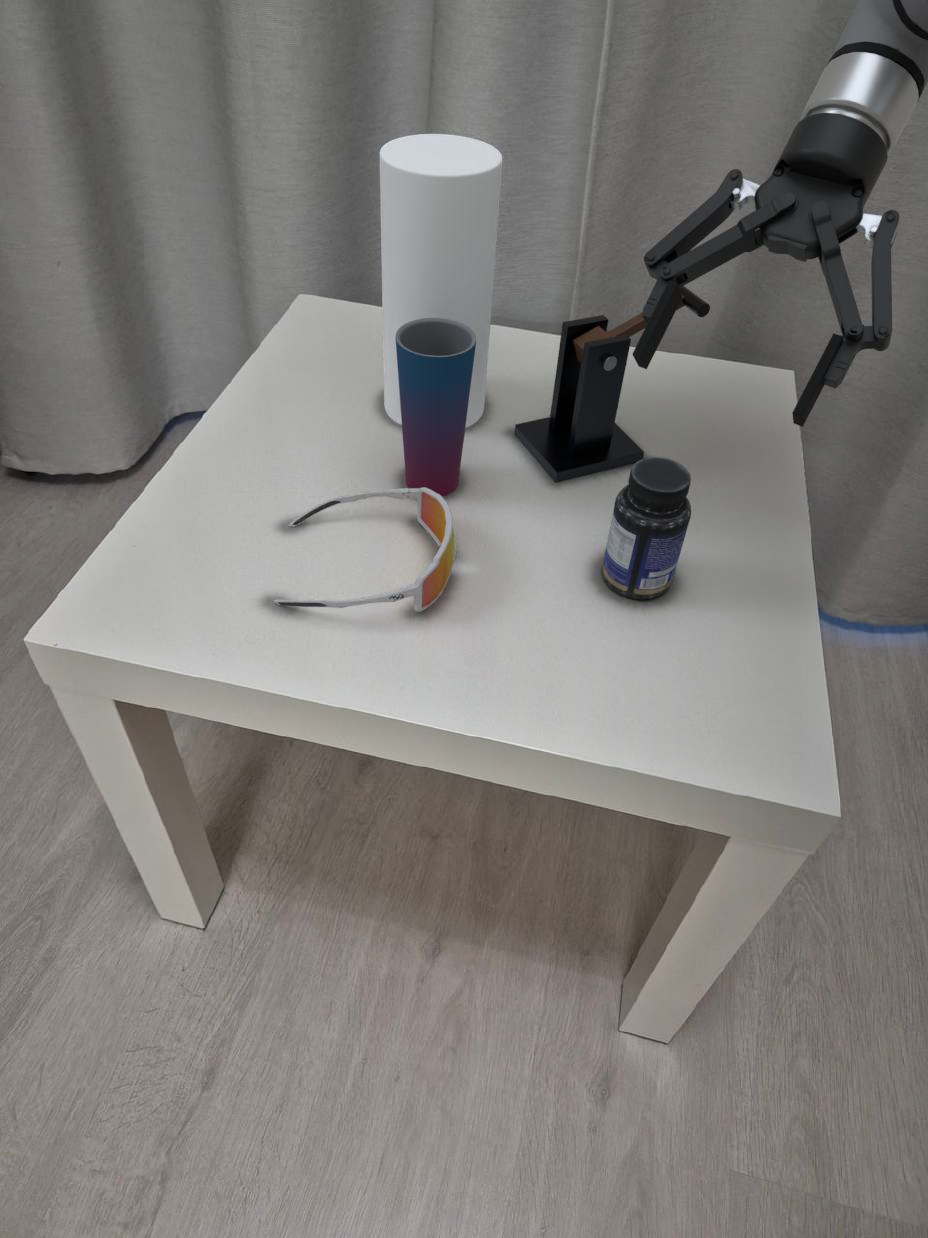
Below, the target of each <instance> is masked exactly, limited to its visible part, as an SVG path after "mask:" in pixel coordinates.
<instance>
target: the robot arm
mask: <svg viewBox="0 0 928 1238" xmlns="http://www.w3.org/2000/svg"><path fill="white" fill-rule="evenodd" d="M927 84H928V0H858V1H857V3H856V6H855V7H854V9H853V11H852V13H851V15H850V17H849V20H848V21H847V24H846V25H845V27H844V30H843V31H842V34H841V36H840V38H839V39H838V42H837V44H836V46H835V48H834V49H833V52H832V54H831V56H830V58H829V59H828V62H827V64H826V65H825V67H824V69H823V71H822V73H821V75H820V77H819V79H818V81H817V82H816V84H815V86H814V89H813V91H812V93H811V94H810V97H809V99H808V101H807V103H806V104H805V106H804V108H803V110H802V111H801V114H800V118H799V119H800V120H799V122H797V123H796V125H795V126H794V129H792V132H791V135H790V137H789V138H788V140H787V141H786V144H785V146H784V148H783V150H782V151H781V154H780V155H779V158H778V160H777V162H776V164H775V166H774V168H773V171H772V173H771V174H770V176H769V177H768V179H766V180H765V181H764V182H763V183H762V184H759V183H757V182H753V181H751V180H748V179H746V178H744V176H743V172H742V170H740V169H739V168H733V169H731V170H730V171H729V172H728V173H727V174H726V176H725V177H724V179H723V180H722V182H721V183H720V185H719V186H718V188H717V190H716V191H715V192H714V193H713V194H712V195H711V196H710V197H709V198H708V199H707V200H705V201H704V202H703V203H702V204H701V205H699V206H698V207H697V208H696V209H694V211H693V212H692V213H690V214H689V215H688V216H687V217H686V218H685V219H684V220H683V221H681V222H680V223H679V224H678V225H677V226H675V228H673V229H672V230H670V232H668V234H666V235H665V236H664V237H663V238H661V240H660V241H658V242H657V243H656V244H655V245H653V247H651V248H650V249H649V250H648V251H647V252H646V253H645V254H644V256H643V261H644V262H643V263H644V265H645V267H646V270H647V272H648V275H649V276H650V278H652V279H655V280H656V281H655V283H654V286H653V287H652V290H651V292H650V294H649V296H648V298H647V300H646V302H645V305H644V306H643V308H642V312H643V314H642V316H643V318H644V321H645V323H648V324H647V326H646V328H645V329H643V332H642V334H641V336H640V338H639V340H638V342H637V344H636V346H635V348H634V349H633V352H632V357H633V358H634V361H635V362H636V364H637V366H638V367H639V368H642V369H643V370H644V369H645V370H648V367H649V365H650V363H651V361H652V360H653V358H654V356H655V354H656V352H657V349H658V347H659V346H660V344H661V341H662V340H663V337H664V336H665V333H666V332H667V330H668V327H669V325H670V324H671V322H672V320H673V318H674V316H675V314H676V311H678V310H677V308H678V306H679V304H680V302H681V300H682V295H681V292H680V289H679V288H680V287H682V286H686V285H688V284H689V283H692V282H693V281H695V280H697V279H699V278H700V277H702V276H704V275H706V274H707V273H709V272H711V271H713V270H715V269H717V268H719V267H721V266H723V265H724V264H726V263H728V262H730V261H731V260H733V259H735V258H737V257H738V256H741V255H742V254H745V253H752V252H754V251H757V250H758V249H759V248H761V247H763V246H765V247H766V248H767V250H768V252H769V253H773V254H776V255H789V256H790V257H792V258H794V259H795V260H796V261H800V262H804V263H807V261H809V260H815V259H817V258H818V261H819V265H820V268H821V271H822V274H823V276H824V278H825V282H826V286H827V289H828V292H829V295H830V298H831V302H832V305H833V308H834V312H835V315H836V319H837V323H838V327H839V329H840V332H841V335H840V334H837V333H834V332H833V334H832V335H831V337H830V339H829V341H828V343H827V344H826V347H825V349H824V350H823V352H822V354H821V356H820V359H818V362H817V364H816V367H815V368H814V370H813V371H812V374H811V376H810V377H809V379H808V382H807V383H806V385H805V387H804V389H803V391H802V393H801V395H800V397H799V399H798V400H797V401H798V402H796V405H795V406H794V408H793V410H792V422H793V424H794V425H796V426H799V427H802V428H803V427H804V426H805V423H806V422H807V420H808V417H809V415H810V414H811V412H812V410H813V408H814V406H815V404H816V402H817V400H818V399H819V397H820V395H821V392H822V391H823V389H824V387H825V386H827V387H830V388H832V389H837V388H838V387H839V386H841V384H843V381H844V380H845V377H846V375H847V374H848V371H849V370H850V367H851V365H852V364H853V362H854V360H855V358H856V356H857V355H858V354H859V352H861V351H863V350H875V351H876V352H883V351H885V350H887V349H888V348H889V347H890V345H891V340H892V333H893V292H892V291H893V290H892V289H893V287H892V284H893V283H892V248H893V246H894V244H895V240H896V237H897V236H898V230H899V229H898V228H899V224H900V223H899V222H900V213H899V212H898V210H895V209H890V210H886V211H885V212H884V213H883V214H882V215H880V214H875V213H867V212H864V207H865V206H866V203H867V201H868V200H869V198H870V195H871V193H872V192H873V190H874V188H875V186H876V184H877V182H878V180H879V178H880V176H881V174H882V172H883V170H884V168H885V167H886V165H887V163H888V159H889V155H890V154H891V153H892V151H893V150H894V148H895V147H896V145H897V143H898V141H899V139H900V137H901V135H902V133H903V131H904V129H905V127H906V125H907V124H908V122H909V120H910V118H911V116H912V114H913V112H914V110H915V109H916V106H917V103H918V101H919V100H920V98H921V96H922V95H923V92H924V90H925V88H926V86H927ZM748 203H749V204H750V203H754V207H755V210H754V211H752V212H751V213H748V214H746V215H744V216H743V217H742V218H740V219H739V221H737V223H736V224H735V225H734V226H732V227H729V228H728V229H727V230H724V231H723V232H721V233H720V234H717V235H716V236H714V237H712V238H710V239H708V240H706V241H705V242H703V243H701V242H702V241H704V240H705V238H707V237H708V236H709V235H710V234H712V233H713V232H714V231H715V230H716V229H717V228H718V227H719V226H721V225H722V224H723V223H725V221H726V220H727V219H728V218H729V217H730V216H731V215H732V214H733V212H734V211H735V210H736V211H741V210H742V208H743V207H744V206H745V205H747V204H748ZM858 232H859V233H862V234H863V236H864V244H865V246H866V247H868V248H870V249H872V254H871V262H870V263H871V265H870V266H871V267H870V268H871V269H870V271H871V325H865V324H863V322H862V318H861V315H860V312H859V309H858V305H857V301H856V299H855V295H854V292H853V289H852V285H851V282H850V279H849V275H848V272H847V269H846V266H845V262H844V258H843V255H842V249H841V245H840V244H842V243H844V242H845V241H846V240H848V239H850V238H852V237H853V236H855V235H857V233H858ZM700 243H701V244H700ZM697 245H698V246H697Z"/></svg>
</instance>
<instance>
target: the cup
mask: <svg viewBox="0 0 928 1238" xmlns="http://www.w3.org/2000/svg"><path fill="white" fill-rule="evenodd" d="M395 339H396V352H397V366H398V379H399V393H400V406H401V420H402V425H401V432H402V433H401V434H402V447H403V458H404V472H405V473H404V475H405V483H406V487H407V488H422V487H426V488H428V489H430V490H432V491H434V492H435V493H437V494H438V493H439V494H440V495H441V496H442V497H445V496H448V495H450V494H452V493H454V492H455V491H456V489H457V488H458V486H459V480H460V472H461V465H462V457H463V450H464V449H463V448H464V442H465V441H464V440H465V433H466V428H465V426H466V418H467V410H468V402H469V395H470V387H471V379H472V371H473V363H474V355H475V347H476V335H475V333H474V332H473V331H472V329H471V328H469V327H468V326H466V325H464V324H462V323H460V322H457V321H454V320H450V319H444V318H423V319H417V320H413V321H410V322H408V323H406V324H404V325H402V326H401V327H400V328H399V329H398V330H397V332H396V337H395Z"/></svg>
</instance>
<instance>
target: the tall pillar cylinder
mask: <svg viewBox="0 0 928 1238" xmlns="http://www.w3.org/2000/svg"><path fill="white" fill-rule="evenodd" d="M502 173H503V155H502V153H501V152H500V151H499V150H498V149H497V148H496V147H495V146H493V145H492V144H490V143H488V142H486V141H482V140H479V139H477V138H476V139H475V138H472V137H468V136H464V135H463V136H462V135H456V134H448V133H419V134H411V135H405V136H401V137H398V138H394V139H392V140H390V141H388V142H386V143H384V145H382V147H380V150H379V187H380V188H379V192H380V193H379V194H380V195H379V197H380V198H379V199H380V200H379V201H380V250H381V253H380V254H381V255H380V256H381V303H382V304H381V306H382V307H381V309H382V310H381V311H382V357H383V358H382V361H383V364H382V365H383V403H384V410H385V412H386V414H387V416H388V417H389V418H390V419H391V420H393V421H394V423H396V424H398V425H400V426H402V420H401V406H400V393H399V379H398V366H397V352H396V339H395V337H396V332H397V330H398V329H399V328H400V327H401V326H402V325H404V324H406V323H408V322H410V321H413V320H417V319H423V318H444V319H450V320H454V321H457V322H460V323H462V324H464V325H466V326H468V327H469V328H471V329H472V331H473V332H474V333H475V335H476V347H475V355H474V363H473V371H472V379H471V387H470V395H469V402H468V410H467V418H466V426H465V429H467V428H469V427H470V426H472V425H474V424H476V423H477V422H478V421H479V420H480V419H481V417H482V416H483V415H484V411H485V404H486V403H485V402H486V390H487V389H486V388H487V375H488V363H489V362H488V361H489V347H490V337H491V335H490V333H491V321H492V309H493V307H492V306H493V295H494V294H493V293H494V283H495V268H496V255H497V243H498V242H497V241H498V227H499V226H498V225H499V215H500V214H499V213H500V201H501V199H500V198H501V187H502V175H503V174H502Z"/></svg>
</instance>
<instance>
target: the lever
mask: <svg viewBox="0 0 928 1238" xmlns="http://www.w3.org/2000/svg"><path fill="white" fill-rule="evenodd" d="M679 289H680V292H681V295H682V300H681V302H680V304H679V306H678V308H677V310H676V311H678V310H681V309H682V308H684V307H685V308H687V309H688V310H690V312H692V313H693V314H695V315H696V316H697V317H699V318H705V317H706V316H707V315H708V314H709V313H710V310H711V305H710V304H709V303H708V302H707V301H705V300H704V299H703V298H701V297H700V296H698V295H697V294H696V293H695V292H693V291H691V290H690V289H689V288H688V287H686V285H684V286H682V287H680V288H679ZM642 314H643V311H642V312H640V313H638V314H637V315H635V316H632V317H631V318H630V319H628V320H626V321H624V322H623V323H620V324H619V325H617V326H615V327H613V328H612V329H610V330H607V332H605V331H604V330H603V329H602V328H601V327H599V326H597V327H595V328H594V329H592V330H590V331H588V332H587V333H585V334H583V335H581V336H579V337H578V338H576V339H574V340H573V342H574V347H575V351H576V355H577V360H578V361H579V362H580V363H581V362H582V356H583V349H584V343H585V342H589V341H594V340H600V339H605V338H610V337H615V336H621V335H627V336H628V337H629V338H630V337H632V336H634V335H636V334H639V333H640V332H641V331H644V330H645V328H646V326H647V324H648V323H645V321H644V318H643V316H642Z"/></svg>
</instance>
